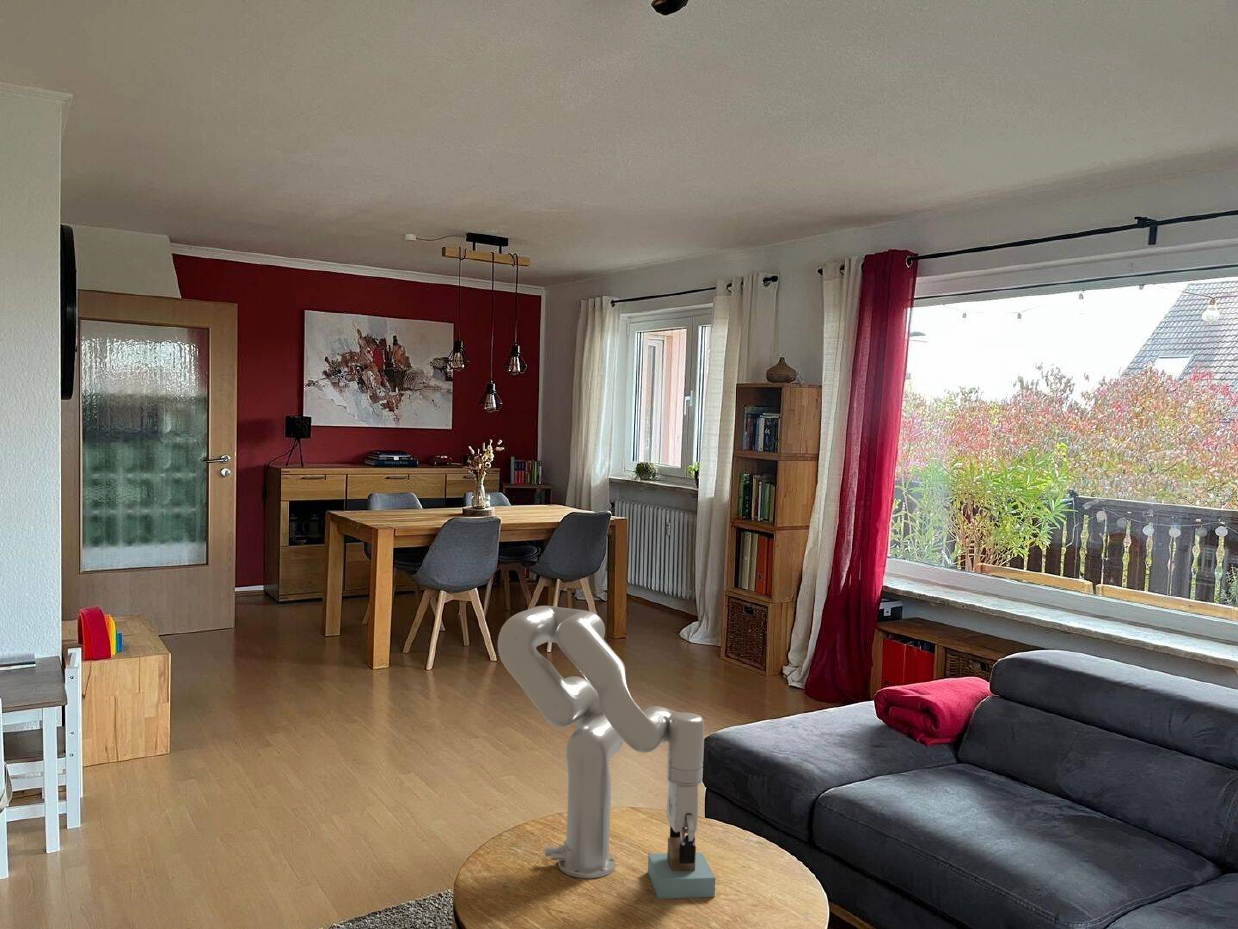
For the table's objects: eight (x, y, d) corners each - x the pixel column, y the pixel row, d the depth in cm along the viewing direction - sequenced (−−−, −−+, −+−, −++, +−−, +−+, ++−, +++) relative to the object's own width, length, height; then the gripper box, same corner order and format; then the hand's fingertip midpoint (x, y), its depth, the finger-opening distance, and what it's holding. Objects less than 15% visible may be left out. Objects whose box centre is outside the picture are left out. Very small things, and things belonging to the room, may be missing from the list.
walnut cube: (671, 871, 197) (672, 848, 197) (667, 860, 202) (668, 837, 202) (695, 870, 197) (695, 847, 197) (689, 860, 202) (690, 837, 202)
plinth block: (657, 898, 193) (658, 879, 193) (647, 872, 205) (648, 854, 205) (714, 897, 195) (715, 878, 194) (701, 870, 206) (702, 852, 206)
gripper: (660, 759, 207) (656, 836, 208) (675, 788, 190) (672, 872, 190) (693, 759, 208) (690, 835, 209) (711, 787, 191) (708, 870, 191)
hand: (681, 852), depth 200 cm, fingers open, 9 cm apart
